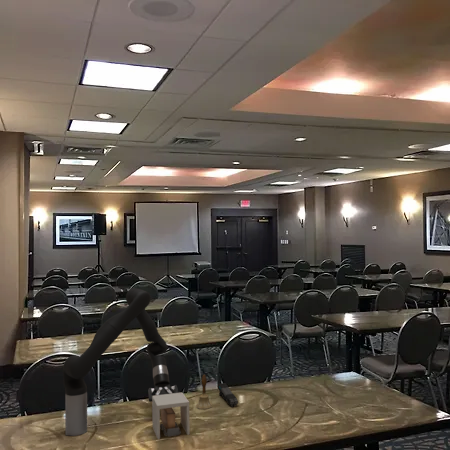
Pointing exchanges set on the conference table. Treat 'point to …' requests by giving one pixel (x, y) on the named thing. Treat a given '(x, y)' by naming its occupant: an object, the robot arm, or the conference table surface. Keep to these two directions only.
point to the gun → (227, 394)
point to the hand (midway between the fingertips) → (165, 407)
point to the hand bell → (204, 396)
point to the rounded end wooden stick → (168, 418)
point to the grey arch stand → (170, 402)
